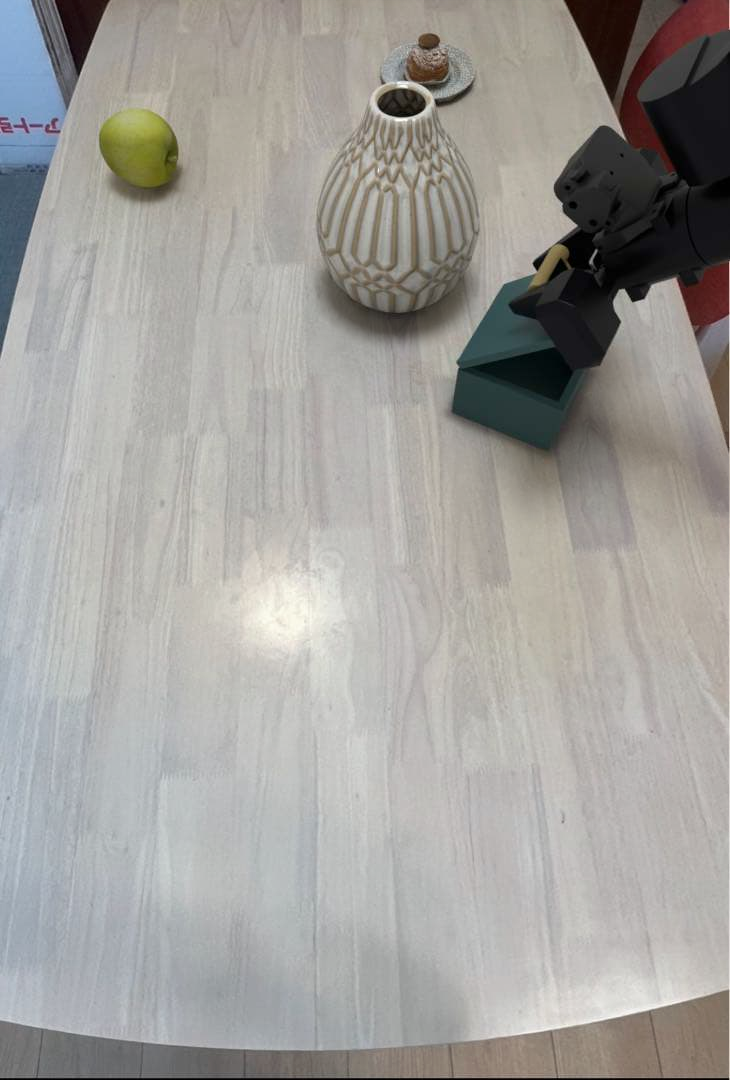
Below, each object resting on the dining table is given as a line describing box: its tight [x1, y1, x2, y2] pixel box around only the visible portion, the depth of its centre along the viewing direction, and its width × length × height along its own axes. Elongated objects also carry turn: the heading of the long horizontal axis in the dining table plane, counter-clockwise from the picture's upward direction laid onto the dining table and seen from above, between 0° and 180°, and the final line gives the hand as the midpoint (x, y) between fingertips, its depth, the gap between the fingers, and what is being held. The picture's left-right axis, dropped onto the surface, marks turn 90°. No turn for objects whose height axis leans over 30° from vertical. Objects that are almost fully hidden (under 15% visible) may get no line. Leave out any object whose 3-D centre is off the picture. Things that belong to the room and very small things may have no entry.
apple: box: [98, 107, 180, 188], centre depth 84 cm, size 8×9×8 cm
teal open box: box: [451, 347, 591, 453], centre depth 71 cm, size 10×11×6 cm
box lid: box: [455, 244, 593, 369], centre depth 64 cm, size 11×11×4 cm
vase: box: [315, 81, 481, 314], centre depth 71 cm, size 16×16×20 cm
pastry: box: [380, 32, 477, 104], centre depth 94 cm, size 12×12×5 cm
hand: (523, 286), depth 63 cm, fingers closed on box lid, 5 cm apart
